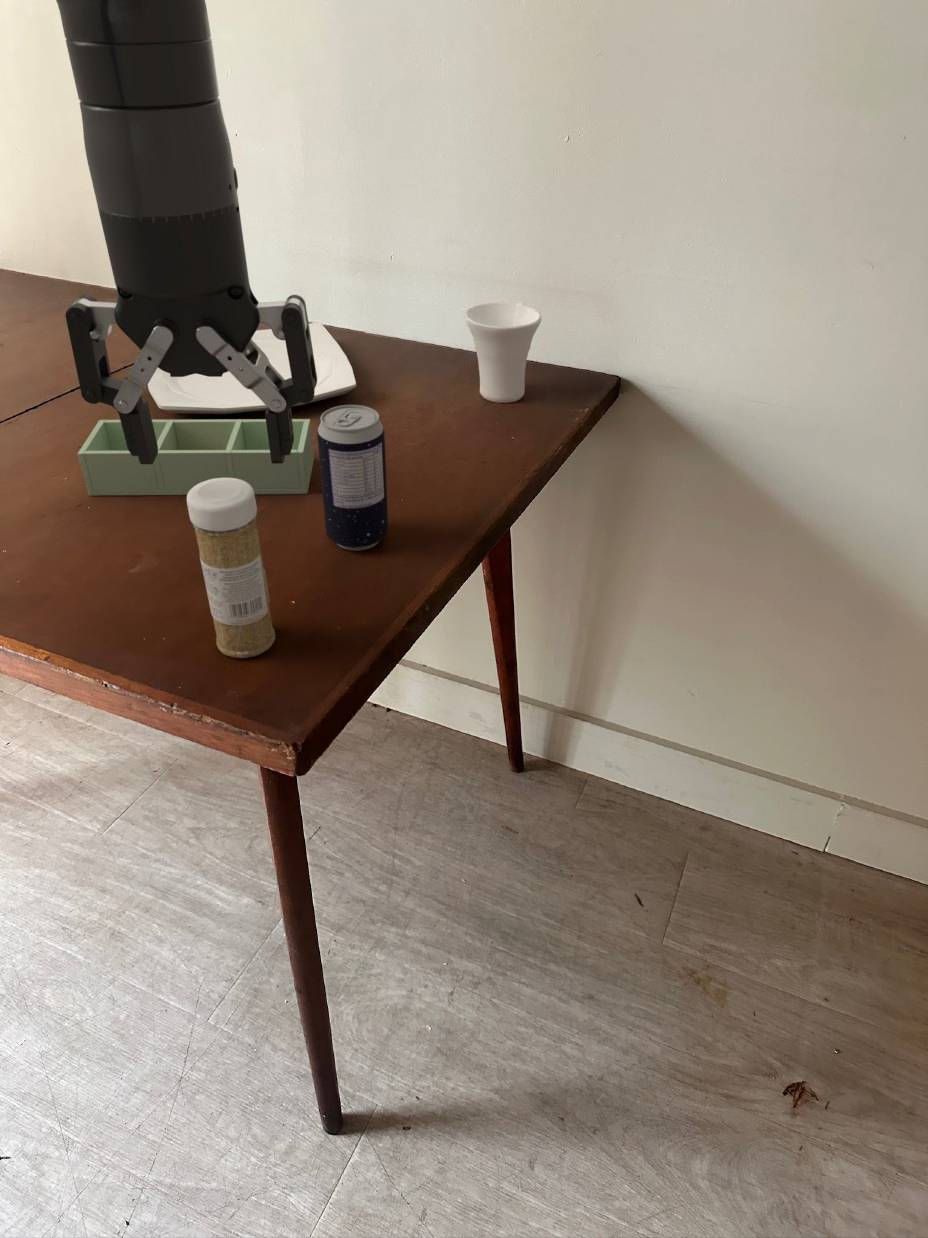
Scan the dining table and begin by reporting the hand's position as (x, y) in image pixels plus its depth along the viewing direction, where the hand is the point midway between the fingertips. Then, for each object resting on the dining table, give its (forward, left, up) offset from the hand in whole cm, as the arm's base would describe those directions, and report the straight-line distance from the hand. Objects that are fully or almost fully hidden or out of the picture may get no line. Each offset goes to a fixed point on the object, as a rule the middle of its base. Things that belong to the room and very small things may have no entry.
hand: (215, 458), depth 58 cm
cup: (+24, +48, -16) cm, 56 cm away
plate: (-7, +52, -16) cm, 55 cm away
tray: (-8, +27, -16) cm, 32 cm away
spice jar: (0, 0, -16) cm, 16 cm away
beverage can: (+8, +15, -16) cm, 23 cm away
